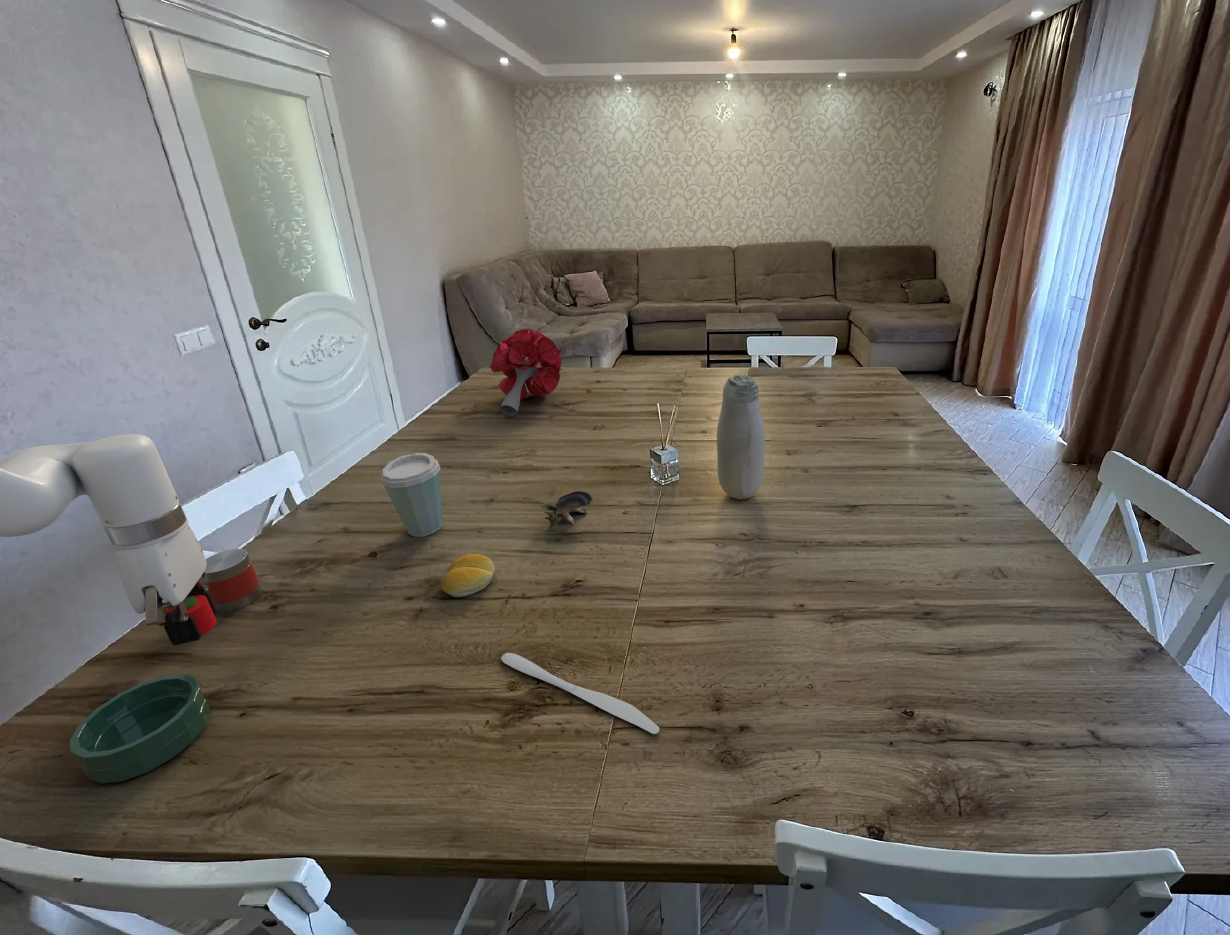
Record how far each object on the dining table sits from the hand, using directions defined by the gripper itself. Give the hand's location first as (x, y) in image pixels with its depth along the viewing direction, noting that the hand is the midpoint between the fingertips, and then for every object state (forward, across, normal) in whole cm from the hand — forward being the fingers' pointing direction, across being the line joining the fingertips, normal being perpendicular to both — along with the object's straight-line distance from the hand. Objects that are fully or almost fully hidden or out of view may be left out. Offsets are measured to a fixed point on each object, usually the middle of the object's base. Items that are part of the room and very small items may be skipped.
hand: (195, 627), depth 81 cm
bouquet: (+6, -92, +53) cm, 106 cm away
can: (+5, -13, 0) cm, 14 cm away
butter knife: (+5, +28, +51) cm, 58 cm away
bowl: (+5, +15, 0) cm, 16 cm away
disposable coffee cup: (+5, -24, +28) cm, 37 cm away
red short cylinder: (0, 0, 0) cm, 0 cm away
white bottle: (+6, -12, +93) cm, 94 cm away
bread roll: (+5, -3, +37) cm, 37 cm away
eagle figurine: (+6, -16, +56) cm, 58 cm away
